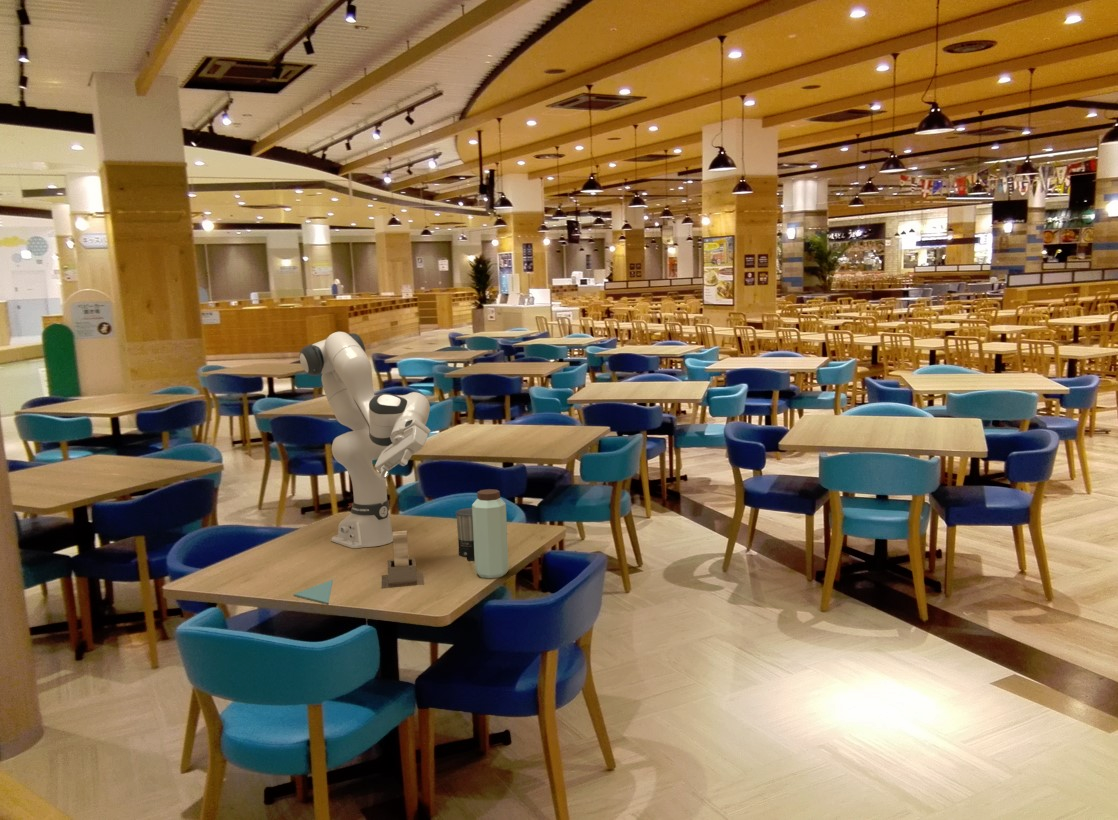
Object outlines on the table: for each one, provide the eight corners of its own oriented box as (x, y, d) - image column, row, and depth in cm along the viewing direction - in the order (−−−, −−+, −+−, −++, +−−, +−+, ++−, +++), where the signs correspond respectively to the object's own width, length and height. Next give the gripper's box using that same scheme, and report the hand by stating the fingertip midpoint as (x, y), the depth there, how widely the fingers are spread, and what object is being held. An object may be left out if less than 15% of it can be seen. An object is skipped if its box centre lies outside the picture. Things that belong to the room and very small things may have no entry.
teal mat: (293, 595, 245) (293, 594, 245) (337, 579, 258) (337, 577, 258) (332, 605, 236) (332, 603, 236) (375, 588, 249) (375, 586, 249)
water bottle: (477, 569, 263) (473, 488, 260) (510, 568, 263) (506, 487, 260) (473, 579, 253) (469, 496, 250) (507, 579, 253) (503, 495, 250)
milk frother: (454, 560, 273) (452, 514, 271) (465, 546, 288) (463, 502, 286) (499, 560, 271) (497, 514, 269) (507, 546, 286) (506, 502, 284)
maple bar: (395, 578, 254) (392, 531, 252) (409, 577, 255) (406, 530, 253) (395, 582, 250) (392, 535, 248) (409, 581, 251) (406, 534, 249)
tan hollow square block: (381, 578, 257) (380, 559, 257) (422, 574, 260) (421, 555, 259) (381, 591, 246) (380, 571, 245) (424, 587, 248) (423, 567, 247)
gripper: (377, 444, 266) (364, 478, 256) (417, 416, 254) (405, 450, 245) (393, 455, 269) (381, 490, 259) (434, 428, 257) (422, 463, 247)
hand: (393, 470), depth 252 cm, fingers open, 8 cm apart
